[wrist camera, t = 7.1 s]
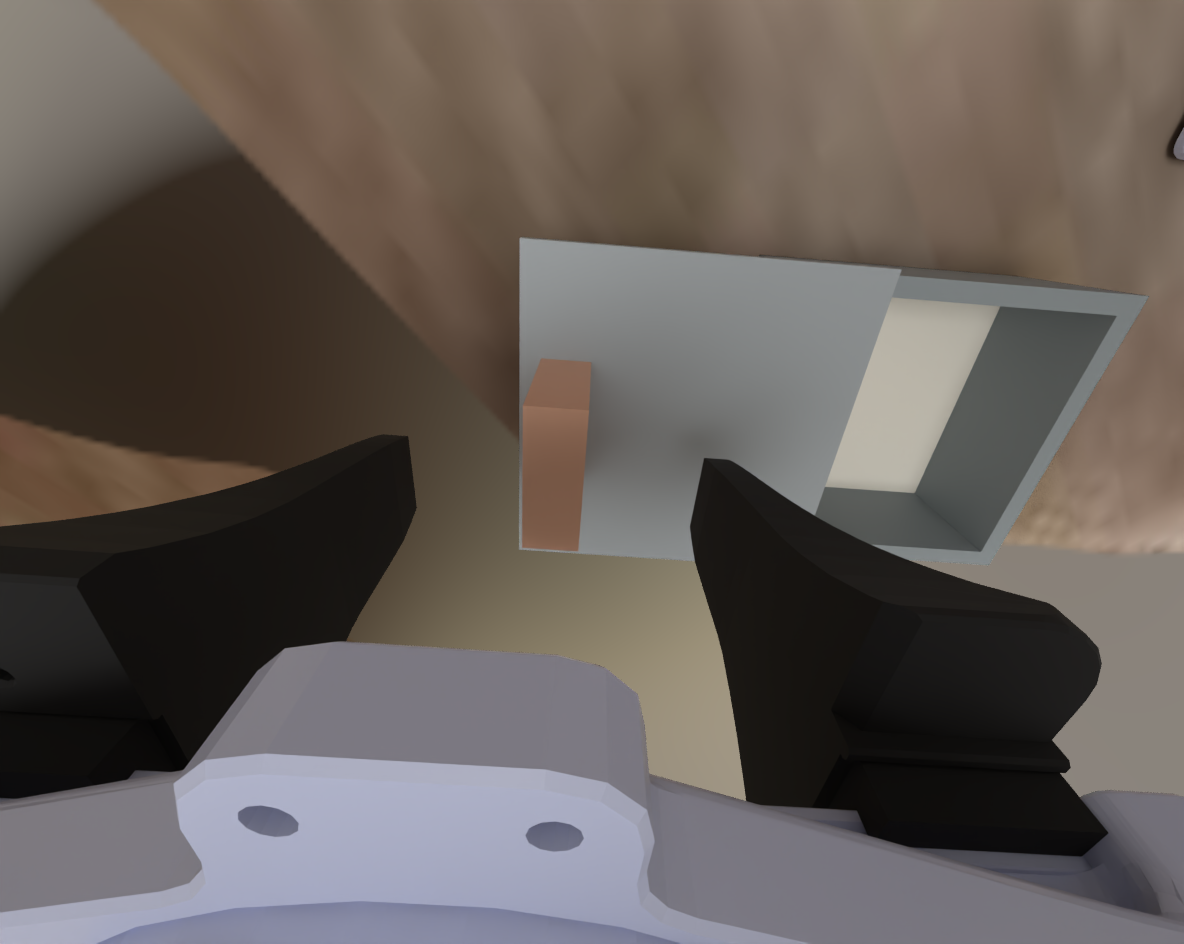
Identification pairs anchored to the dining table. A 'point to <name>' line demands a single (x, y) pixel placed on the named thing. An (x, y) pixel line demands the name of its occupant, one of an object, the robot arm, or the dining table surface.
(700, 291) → the lid
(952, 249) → the dining table surface
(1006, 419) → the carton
